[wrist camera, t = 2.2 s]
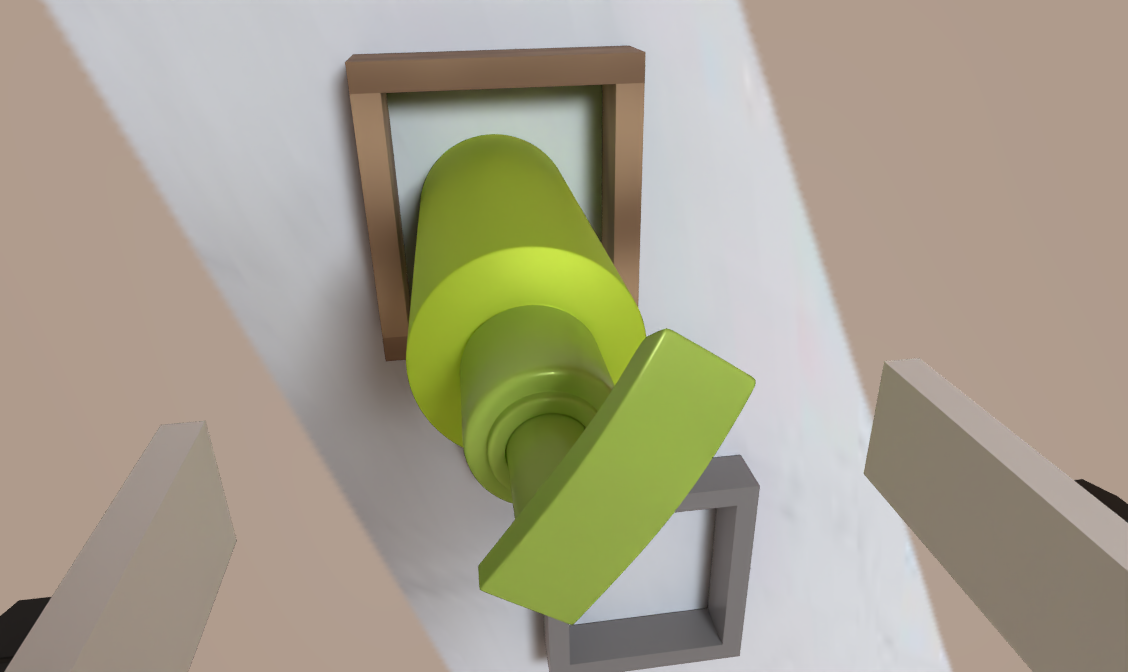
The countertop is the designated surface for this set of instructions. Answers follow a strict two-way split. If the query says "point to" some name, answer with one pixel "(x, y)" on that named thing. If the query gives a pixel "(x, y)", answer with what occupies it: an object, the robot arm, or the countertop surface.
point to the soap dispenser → (553, 377)
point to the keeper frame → (607, 649)
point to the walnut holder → (492, 71)
